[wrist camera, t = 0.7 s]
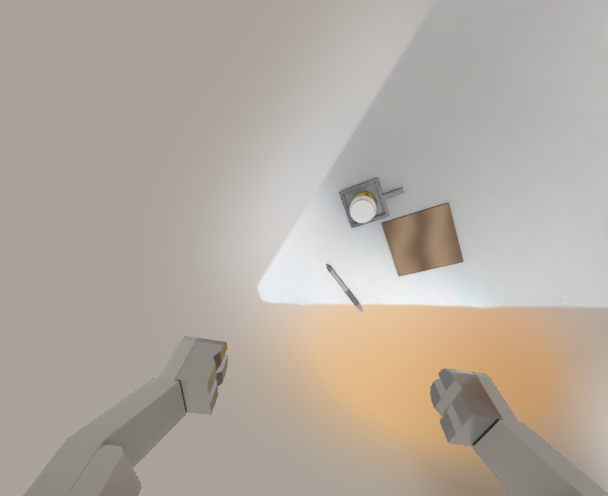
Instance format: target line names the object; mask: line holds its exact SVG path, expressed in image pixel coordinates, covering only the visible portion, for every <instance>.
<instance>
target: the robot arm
mask: <svg viewBox="0 0 608 496" xmlns="http://www.w3.org/2000/svg"><path fill="white" fill-rule="evenodd" d="M226 350H227V342H223V341H216V340H209V339H203V338H196V337H188V336H185V337H184V338H183V339H182V340H181V341H180V343H179V345H178V346H177V348H176V349H175V351H174V353H173V354H172V356H171V358H170V359H169V361H168V363H167V364H166V366H165V368H164V369H163V371H162V373H161V374H160V376H159V378H153V379H151V380H150V381H149V382H147V383H146V384H144V385H143V386H142V387H140V388H139V389H137V390H136V391H134V392H133V393H131V394H130V395H129V396H127V397H126V398H124V399H123V400H121V401H120V402H119V403H117V404H116V405H114V406H113V407H112V408H110V409H109V410H107V411H106V412H104V413H103V414H101V415H100V416H99V417H97V418H96V419H94V420H93V421H91V422H90V423H89V424H87V425H86V426H84V427H83V428H81V429H80V430H79V431H77V432H76V433H74V434H73V435H72V436H70V437H69V438H68V439H67V440H66V441H65V442H64V444H63V445H62V446H61V448H60V449H59V450H58V451H57V453H56V454H55V455H54V457H53V458H52V459H51V460H50V462H49V463H48V464H47V466H46V467H45V468H44V470H43V471H42V472H41V473H40V475H39V476H38V477H37V479H36V480H35V481H34V483H33V484H32V485H31V486H30V488H29V489H28V490H27V492H26V493H25V494H24V495H23V496H138V495H139V493H140V490H141V483H140V481H139V479H138V477H137V475H136V473H135V471H134V470H133V468H134V467H135V466H136V465H137V464H138V463H139V461H141V460H142V459H143V457H145V456H146V455H147V454H148V453H149V452H150V450H151V449H152V448H153V447H154V446H155V445H156V444H157V443H158V442H159V441H160V440H161V439H162V438H163V437H164V436H165V435H166V434H167V433H168V432H169V431H170V430H171V429H172V428H173V427H174V426H175V425H176V424H177V423H178V422H179V421H180V420H181V419H182V418H183V417H184V416H185V415H186V413H198V414H209V415H210V414H212V411H213V408H214V405H215V402H216V400H217V397H218V386H219V385H220V384H221V383H222V382H223V380H224V377H225V373H226V369H227V363H228V356H227V355H226V354H225V353H226ZM439 377H440V378H439V379H437V380H436V381H434V382H433V384H432V386H431V392H430V395H431V400H432V403H433V406H434V408H435V409H436V410H437V411H438V412H439V413H440V415H441V418H440V424H441V426H442V429H443V431H444V433H445V436H446V438H447V441H448V443H453V444H459V445H467V446H473V449H474V451H475V452H476V453H477V454H478V456H479V457H480V458H481V459H482V460H483V462H484V463H485V464H486V465H487V466H488V468H489V469H490V470H491V471H492V472H493V474H494V475H495V476H496V477H497V478H498V480H499V481H500V482H501V483H502V485H503V486H504V487H505V488H506V489H507V491H508V492H509V493H510V494H511V495H512V496H608V493H607V492H606V491H604V490H603V489H602V488H601V487H600V486H598V485H597V484H596V483H595V482H594V481H593V480H591V479H590V478H589V477H588V476H587V475H585V474H584V473H583V472H582V471H581V470H579V469H578V468H577V467H576V466H575V465H574V464H572V463H571V462H570V461H569V460H568V459H566V458H565V457H564V456H563V455H562V454H560V453H559V452H558V451H557V450H556V449H554V448H553V447H552V446H551V445H550V444H549V443H547V442H546V441H545V440H544V439H542V438H541V437H540V436H539V435H538V434H536V433H535V432H534V431H533V430H532V429H531V428H529V427H528V426H527V425H526V424H525V423H522V422H519V421H518V419H517V418H516V416H515V415H514V413H513V412H512V410H511V409H510V407H509V405H508V404H507V402H506V401H505V399H504V398H503V397H502V395H501V393H500V392H499V390H498V389H497V387H496V386H495V384H494V383H493V381H492V380H491V378H490V377H489V376H488V375H487V374H484V373H476V372H470V371H463V370H452V369H443V370H441V371H440V372H439Z"/></svg>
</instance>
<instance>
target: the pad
mask: <svg viewBox="0 0 608 496" xmlns="http://www.w3.org/2000/svg"><path fill="white" fill-rule="evenodd" d="M382 225H383V229H384V232H385V235H386V238H387V241H388V244H389V247H390V250H391V253H392V256H393V259H394V262H395V265H396V268H397V272H398V275H399V276H403V275H407V274H412V273H416V272H420V271H425V270H429V269H434V268H438V267H443V266H447V265H452V264H456V263H461V262H463V258H462V254H461V250H460V246H459V242H458V238H457V234H456V230H455V226H454V222H453V218H452V214H451V210H450V206H449V203H445V204H442V205H439V206H436V207H432V208H429V209H426V210H423V211H419V212H416V213H413V214H410V215H407V216H403V217H400V218H397V219H394V220H390V221H387V222H384V223H382Z"/></svg>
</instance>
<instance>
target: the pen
mask: <svg viewBox="0 0 608 496" xmlns="http://www.w3.org/2000/svg"><path fill="white" fill-rule="evenodd" d="M326 266H327V269H328V270H329V272H330V273H331V274H332V276H333V277H334V278H335V280H336V281H337V282H338V283H339V285H340V286H341V287H342V289H343V290H344V292H345V293H346V294H347V295H348V297H349V298H350V299H351V301H352V302H353V303H354V305H355V306H356V307H357V308H358V309H359V310H360V311H363V310H362V308H361V306H360V304H359V303H358V301H357V300H356V299H355V297H354V296H353V295H352V294H351V292H350V291H349V290H348V288H347V287H346V286H345V285H344V283H343V282H342V281H341V279H340V278H339V277H338V276H337V274H336V273H335V272H334V269H333V268H332V267H331V266H329V265H328V264H327V265H326Z"/></svg>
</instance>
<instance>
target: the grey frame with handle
mask: <svg viewBox="0 0 608 496" xmlns="http://www.w3.org/2000/svg"><path fill="white" fill-rule="evenodd" d="M373 183H376V186H377V189H378V192H379V195H380V198H381V202H382V205H383V208H384V211H385V213H383V214H380V215H377V216H374V217H373V218H372V219H371V220H370V221H368V222H366V223H369V222H373V221H376V220H379V219H382V218H385V217H388V216H389V212H388V209H387V206H386V203H385V199H387V198H390V197H393V196H396V195H399V194H402V193H404V191H403V188H400V189H397V190H394V191H391V192H389V193H386V194H383V193H382V190H381V187H380V184H379V180H378V178H375V179H372V180H370V181H367V182H365V183H362V184H359V185H357V186H354V187H351V188H349V189H346V190H344V191H341V192H339V194H340V197H341V200H342V202H343V205H344V208H345V211H346V213H347V216H348V219H349V222H350V225H351V227H352V228H354V227H357V226H360V225H363V224H366V223H358V222H356V223H354V221H353V219H352V217H351V214H350V211H349V207H348V204H347V202H346V199H345V196H344V194H346V193H349V192H351V191H354V190H357V189H359V188H362V187H365V186H367V185H370V184H373Z"/></svg>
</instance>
